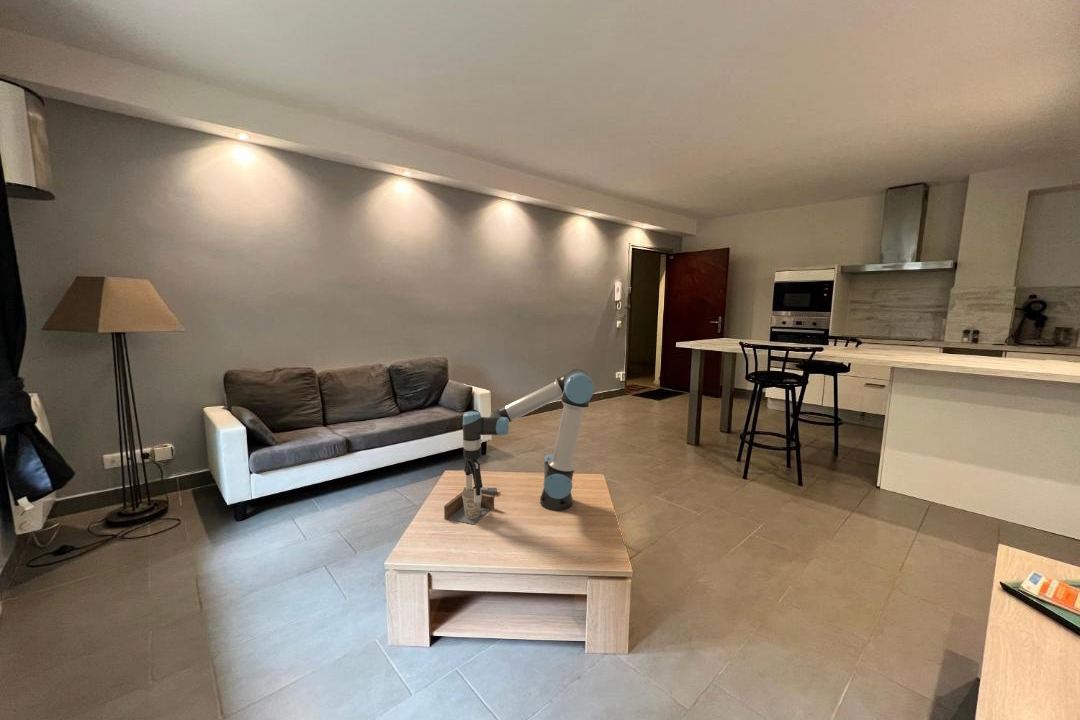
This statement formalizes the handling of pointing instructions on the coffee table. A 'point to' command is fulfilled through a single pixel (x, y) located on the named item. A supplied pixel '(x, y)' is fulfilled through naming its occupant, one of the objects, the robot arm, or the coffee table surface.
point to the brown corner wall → (457, 503)
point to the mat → (461, 516)
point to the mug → (471, 505)
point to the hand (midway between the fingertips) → (473, 495)
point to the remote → (486, 490)
